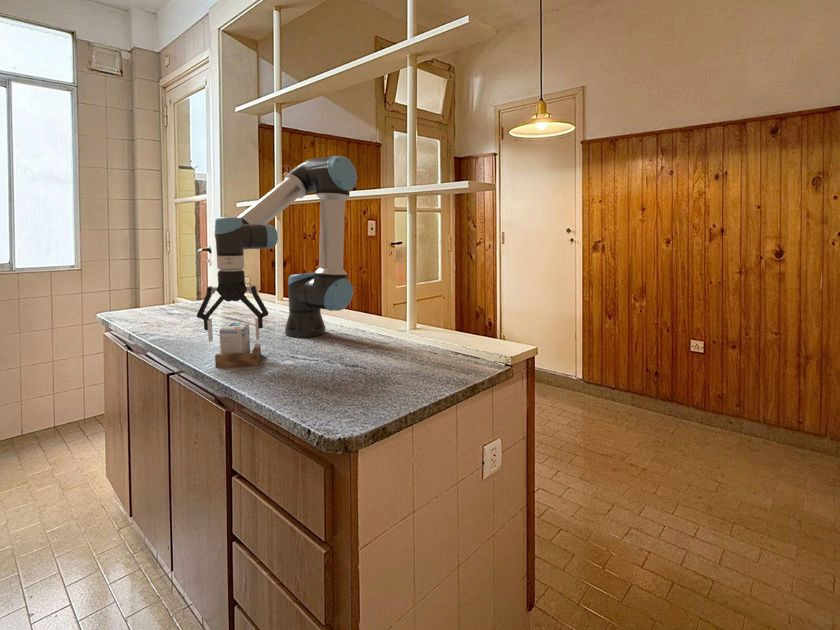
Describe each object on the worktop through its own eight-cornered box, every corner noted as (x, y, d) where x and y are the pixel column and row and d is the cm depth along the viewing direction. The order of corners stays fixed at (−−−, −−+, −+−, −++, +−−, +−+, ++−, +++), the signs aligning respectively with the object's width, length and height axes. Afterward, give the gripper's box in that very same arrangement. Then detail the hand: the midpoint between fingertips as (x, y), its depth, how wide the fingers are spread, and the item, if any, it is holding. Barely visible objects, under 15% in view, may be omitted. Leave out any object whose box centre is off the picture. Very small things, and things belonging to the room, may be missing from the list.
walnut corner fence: (260, 354, 165) (260, 343, 164) (257, 365, 152) (256, 353, 151) (222, 356, 162) (222, 345, 162) (215, 367, 149) (215, 355, 149)
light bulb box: (229, 355, 163) (227, 322, 161) (251, 355, 164) (249, 322, 162) (220, 364, 152) (218, 328, 151) (244, 364, 153) (242, 328, 151)
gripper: (183, 271, 147) (187, 344, 151) (273, 270, 152) (276, 340, 156) (188, 269, 154) (193, 338, 158) (275, 268, 160) (277, 335, 163)
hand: (234, 339), depth 157 cm, fingers open, 13 cm apart
